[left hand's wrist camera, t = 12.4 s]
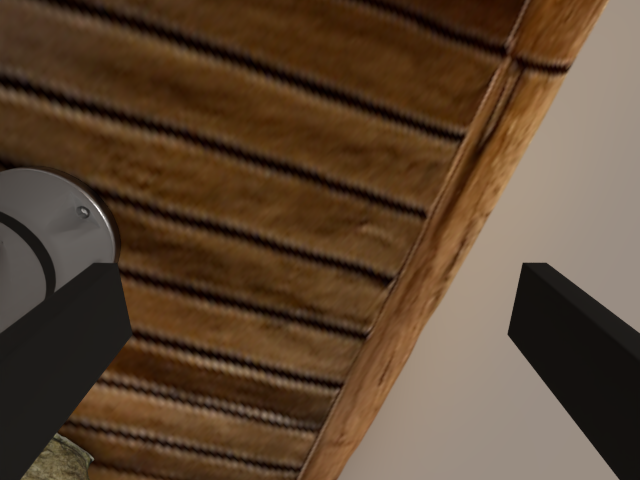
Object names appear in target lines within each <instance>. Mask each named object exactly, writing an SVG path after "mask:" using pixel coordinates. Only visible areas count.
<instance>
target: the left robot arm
mask: <svg viewBox="0 0 640 480" xmlns="http://www.w3.org/2000/svg"><path fill="white" fill-rule="evenodd" d="M120 248H121V243H120V235H119V230H118V227H117V224H116V222H115V219H114V217H113V215H112V213H111V212H110V210H109V208H108V207H107V205H106V204H105V203H104V201H103V200H102V199H101V198H100V197H99V196H98V195H97V194H96V193H95V192H94V191H93V190H92V189H91V188H90V187H88V186H87V185H86V184H84V183H83V182H82V181H80V180H78V179H77V178H75V177H73V176H71V175H69V174H67V173H65V172H62V171H59V170H56V169H53V168H48V167H42V166H24V167H18V168H14V169H10V170H6V171H3V172H0V480H21V478H22V477H23V476H24V474H25V473H26V472H27V471H28V469H29V468H30V467H31V465H32V464H33V463H34V461H35V460H36V459H37V458H38V456H39V455H40V454H41V452H42V451H43V450H44V449H45V447H46V446H47V445H48V443H49V442H50V441H51V439H52V438H53V437H54V436H55V434H56V433H57V432H58V430H59V429H60V428H61V426H62V425H63V424H64V423H65V421H66V420H67V419H68V417H69V416H70V415H71V414H72V412H73V411H74V410H75V408H76V407H77V406H78V404H79V403H80V402H81V401H82V399H83V398H84V397H85V395H86V394H87V393H88V391H89V390H90V389H91V388H92V386H93V385H94V384H95V382H96V381H97V380H98V379H99V377H100V376H101V375H102V373H103V372H104V371H105V369H106V368H107V367H108V366H109V364H110V363H111V362H112V360H113V359H114V358H115V356H116V355H117V354H118V353H119V351H120V350H121V349H122V347H123V346H124V345H125V343H126V342H127V341H128V340H129V338H130V337H131V336H132V330H131V325H130V320H129V316H128V311H127V306H126V302H125V297H124V292H123V288H122V283H121V278H120V274H119V269H118V264H117V263H118V260H119V256H120ZM508 336H509V337H510V338H511V340H512V341H513V342H514V343H515V345H516V346H517V347H518V349H519V350H520V351H521V353H522V354H523V355H524V356H525V358H526V359H527V360H528V362H529V363H530V364H531V366H532V367H533V368H534V369H535V371H536V372H537V373H538V375H539V376H540V377H541V379H542V380H543V381H544V382H545V384H546V385H547V386H548V388H549V389H550V390H551V391H552V393H553V394H554V395H555V397H556V398H557V399H558V400H559V402H560V403H561V404H562V406H563V407H564V408H565V410H566V411H567V412H568V414H569V415H570V416H571V417H572V419H573V420H574V421H575V423H576V424H577V425H578V426H579V428H580V429H581V430H582V432H583V433H584V434H585V436H586V437H587V438H588V439H589V441H590V442H591V443H592V445H593V446H594V447H595V448H596V450H597V451H598V452H599V454H600V455H601V456H602V458H603V459H604V460H605V461H606V463H607V464H608V465H609V467H610V468H611V469H612V471H613V472H614V473H615V474H616V476H617V477H618V478H619V480H640V333H639V332H637V331H636V330H635V329H633V328H632V327H631V326H629V325H628V324H627V323H625V322H624V321H623V320H621V319H620V318H619V317H617V316H616V315H615V314H613V313H612V312H611V311H609V310H608V309H607V308H606V307H604V306H603V305H602V304H600V303H599V302H598V301H596V300H595V299H594V298H592V297H591V296H590V295H588V294H587V293H586V292H584V291H583V290H582V289H580V288H579V287H578V286H576V285H575V284H574V283H573V282H571V281H570V280H569V279H567V278H566V277H565V276H563V275H562V274H561V273H559V272H558V271H557V270H555V269H554V268H553V267H551V266H550V265H549V264H547V263H523V264H522V269H521V274H520V278H519V283H518V288H517V292H516V297H515V302H514V306H513V311H512V316H511V321H510V325H509V330H508Z"/></svg>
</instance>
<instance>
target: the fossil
mask: <svg viewBox="0 0 640 480" xmlns="http://www.w3.org/2000/svg"><path fill="white" fill-rule="evenodd" d="M93 460H94V458H93V457H92V456H91V455H90V454H89V453H88V452H86V451H84V450H83V449H81V448H80V447H79V446H77V445H76V444H74V443H73V442H71V441H70V440H68V439H67V438H65V437H62V436H60V435H59V434H58V433H56V434H55V436H54V437H53V438H52V439H51V441H50V442H49V443H48V445H47V446H46V447H45V449H44V450H43V451H42V452H41V454H40V455H39V456H38V458H37V459H36V460H35V461H34V463H33V464H32V465H31V467H30V468H29V469H28V471H27V472H26V473H25V474H24V476H23V477H22V478H21V480H90V479H89V476H88V472H87V470H88V468H89V465H90V464H91V462H92V461H93Z"/></svg>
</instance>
